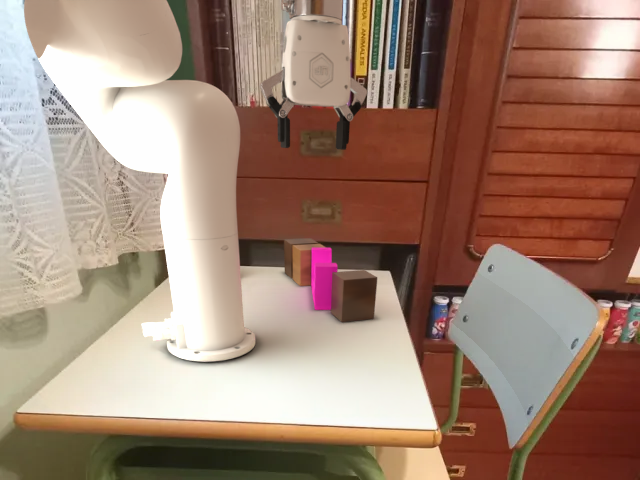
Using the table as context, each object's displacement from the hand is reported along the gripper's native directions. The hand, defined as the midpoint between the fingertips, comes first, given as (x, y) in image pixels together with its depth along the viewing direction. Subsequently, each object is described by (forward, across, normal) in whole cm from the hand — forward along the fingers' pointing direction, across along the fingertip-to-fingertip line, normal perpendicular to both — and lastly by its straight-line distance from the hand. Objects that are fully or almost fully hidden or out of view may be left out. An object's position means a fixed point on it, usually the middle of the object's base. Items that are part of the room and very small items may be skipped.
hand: (313, 148), depth 79 cm
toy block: (+25, +4, -1) cm, 25 cm away
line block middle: (+24, +3, +10) cm, 26 cm away
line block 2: (+25, +4, -12) cm, 28 cm away
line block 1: (+24, +3, +16) cm, 29 cm away
